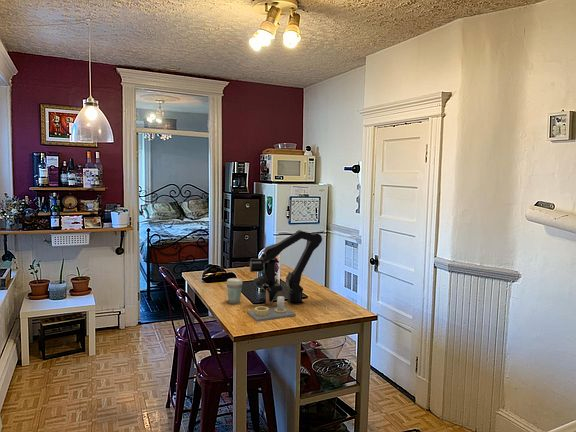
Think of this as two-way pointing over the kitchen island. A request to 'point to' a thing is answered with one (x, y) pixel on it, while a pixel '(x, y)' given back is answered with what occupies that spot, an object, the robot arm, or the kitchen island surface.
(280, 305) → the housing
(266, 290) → the brown peg
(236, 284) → the coffee cup
